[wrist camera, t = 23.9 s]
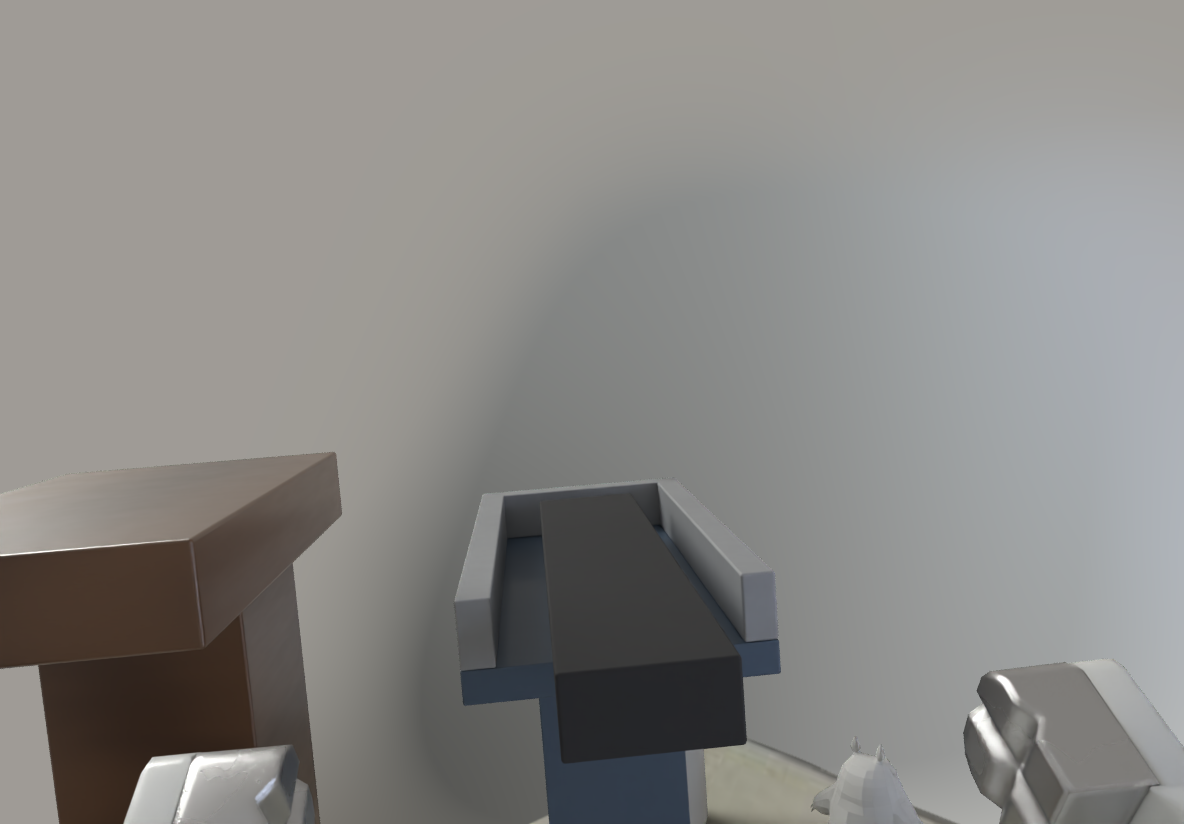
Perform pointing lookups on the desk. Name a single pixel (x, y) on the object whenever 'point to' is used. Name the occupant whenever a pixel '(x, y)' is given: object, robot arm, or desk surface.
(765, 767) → the desk surface
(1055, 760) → the robot arm
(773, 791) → the desk surface
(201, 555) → the pad stand
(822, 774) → the desk surface
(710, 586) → the pad mount
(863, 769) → the figurine
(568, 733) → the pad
